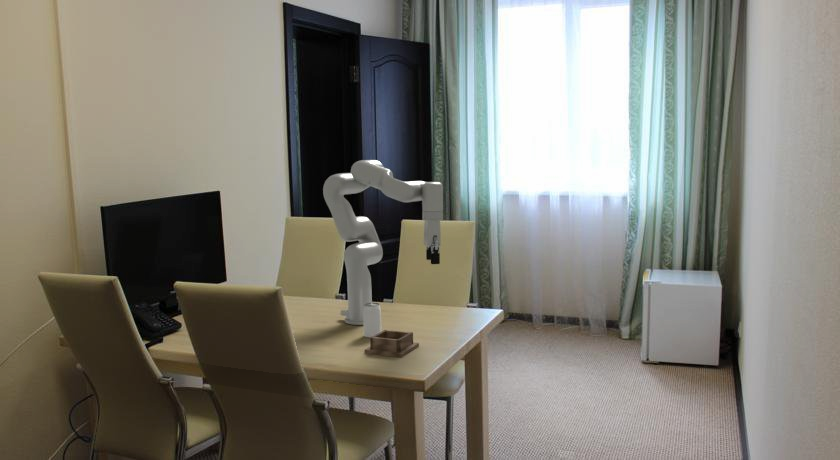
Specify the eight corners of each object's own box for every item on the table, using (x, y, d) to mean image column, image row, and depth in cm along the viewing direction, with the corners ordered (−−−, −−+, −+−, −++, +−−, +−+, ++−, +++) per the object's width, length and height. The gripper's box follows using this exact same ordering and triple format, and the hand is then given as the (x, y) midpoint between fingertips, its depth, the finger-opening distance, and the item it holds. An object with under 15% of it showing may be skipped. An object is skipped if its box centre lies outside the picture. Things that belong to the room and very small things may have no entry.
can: (384, 334, 276) (383, 302, 275) (377, 338, 270) (376, 306, 269) (368, 333, 278) (367, 301, 277) (361, 337, 272) (360, 305, 271)
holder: (364, 353, 252) (364, 338, 251) (383, 342, 264) (382, 328, 264) (401, 357, 246) (401, 342, 245) (418, 346, 259) (418, 331, 258)
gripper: (418, 213, 279) (419, 258, 281) (426, 218, 262) (426, 266, 265) (438, 213, 280) (438, 257, 283) (447, 218, 264) (447, 265, 266)
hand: (432, 261), depth 274 cm, fingers open, 9 cm apart
